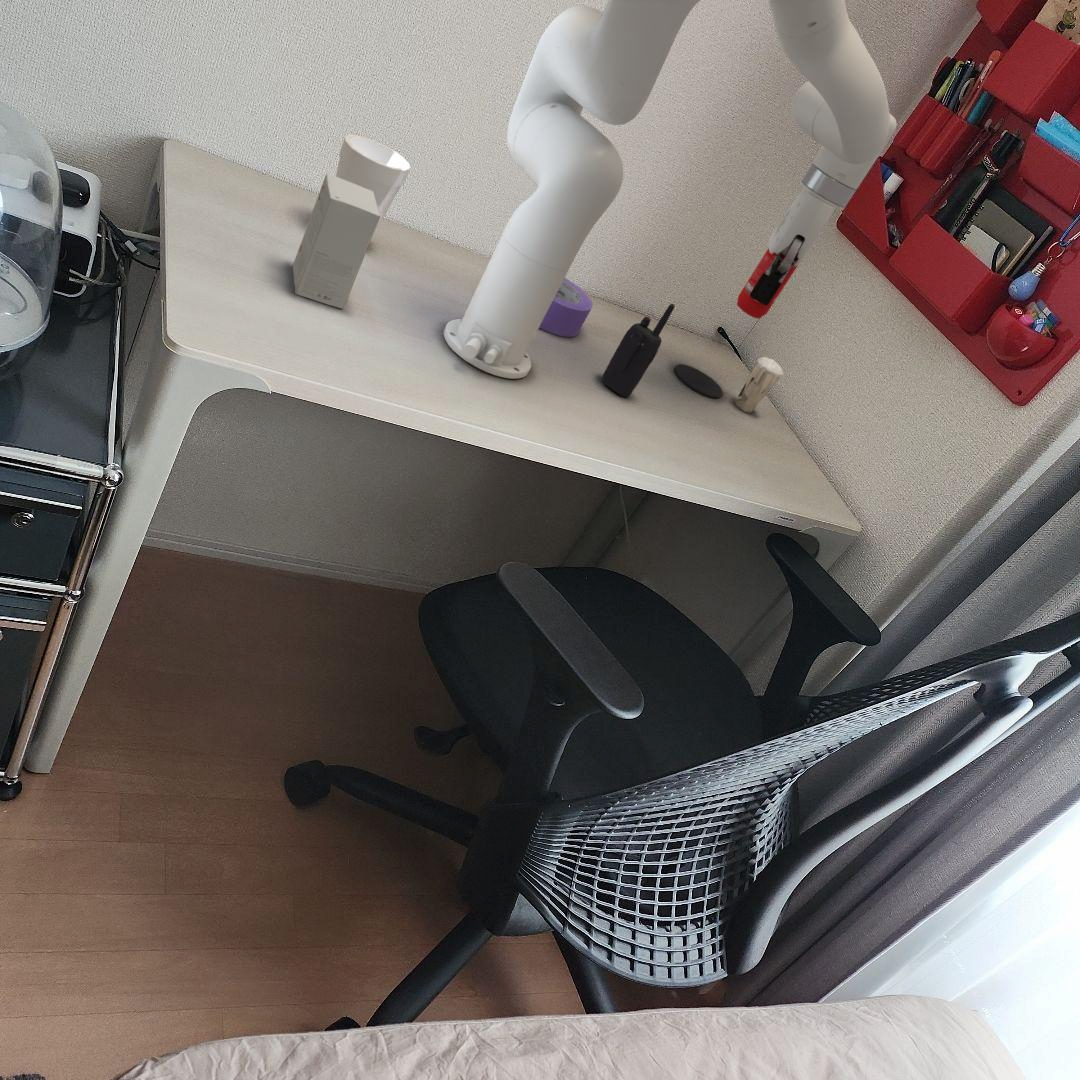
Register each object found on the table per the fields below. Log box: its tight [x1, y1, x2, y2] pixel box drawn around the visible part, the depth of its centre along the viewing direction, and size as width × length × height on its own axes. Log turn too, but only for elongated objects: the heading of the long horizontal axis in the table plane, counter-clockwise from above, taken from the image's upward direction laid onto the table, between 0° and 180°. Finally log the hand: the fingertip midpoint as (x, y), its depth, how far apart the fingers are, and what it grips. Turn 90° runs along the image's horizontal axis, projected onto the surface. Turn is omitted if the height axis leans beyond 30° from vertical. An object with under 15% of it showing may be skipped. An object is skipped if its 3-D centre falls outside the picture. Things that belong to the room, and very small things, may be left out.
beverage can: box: [736, 244, 799, 320], centre depth 154 cm, size 5×5×12 cm
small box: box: [292, 173, 380, 310], centre depth 124 cm, size 8×6×13 cm
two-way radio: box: [601, 303, 676, 397], centre depth 142 cm, size 6×4×15 cm
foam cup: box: [335, 134, 411, 236], centre depth 141 cm, size 10×9×13 cm
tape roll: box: [538, 277, 594, 338], centre depth 155 cm, size 12×12×5 cm
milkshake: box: [734, 356, 794, 414], centre depth 163 cm, size 4×5×10 cm
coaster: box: [673, 363, 724, 400], centre depth 165 cm, size 9×9×1 cm
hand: (758, 294), depth 155 cm, fingers closed on beverage can, 5 cm apart
